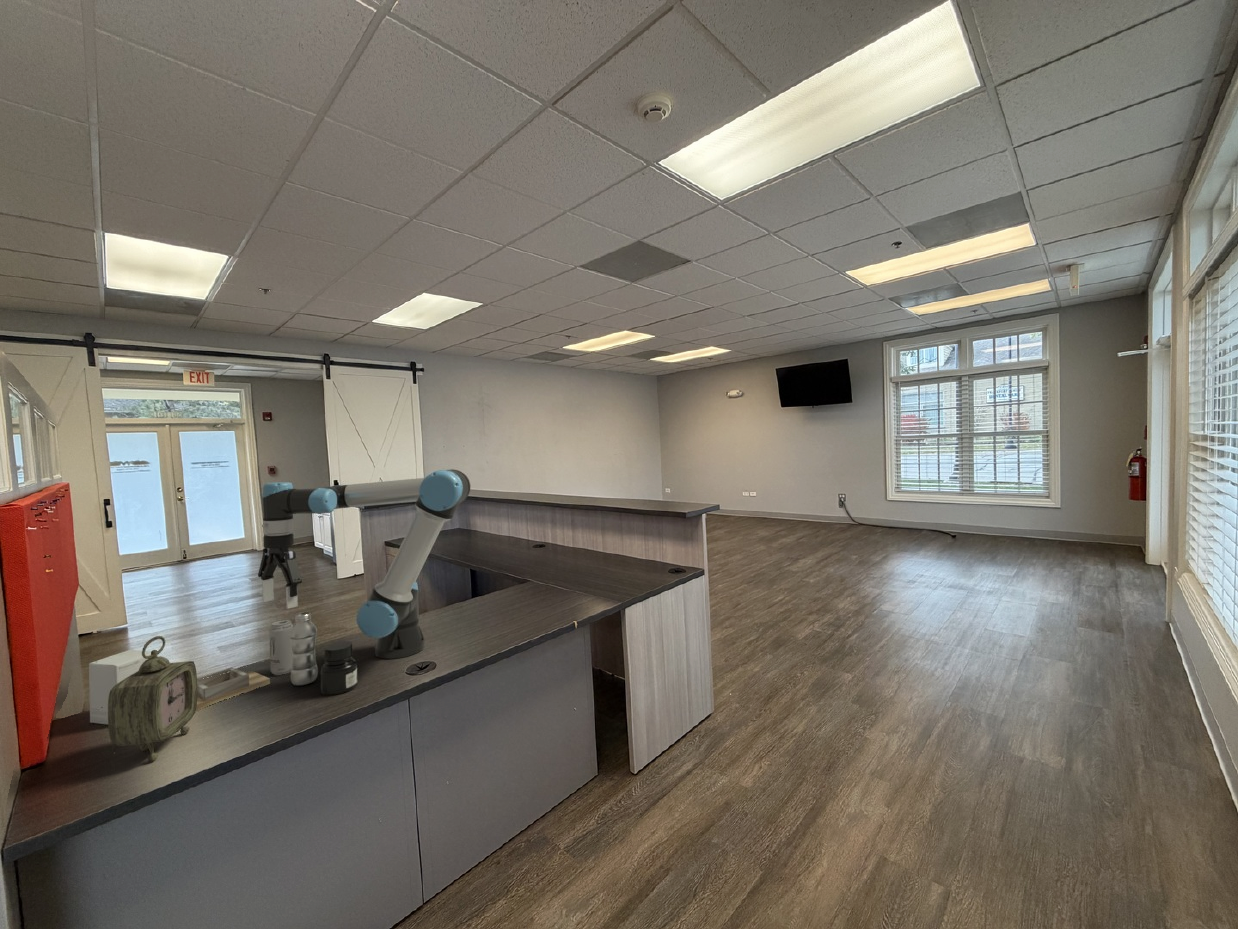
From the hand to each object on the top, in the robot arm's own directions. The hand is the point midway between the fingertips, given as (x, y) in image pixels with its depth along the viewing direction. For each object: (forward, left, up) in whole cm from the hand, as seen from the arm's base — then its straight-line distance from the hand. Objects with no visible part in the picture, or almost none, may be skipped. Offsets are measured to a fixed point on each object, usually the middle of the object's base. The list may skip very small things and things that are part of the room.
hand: (279, 604), depth 150 cm
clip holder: (0, +16, -21) cm, 26 cm away
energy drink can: (0, 0, -21) cm, 21 cm away
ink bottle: (-26, -2, -21) cm, 34 cm away
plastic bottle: (-14, +1, -21) cm, 25 cm away
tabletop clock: (-18, +35, -21) cm, 45 cm away
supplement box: (+8, +33, -21) cm, 40 cm away
